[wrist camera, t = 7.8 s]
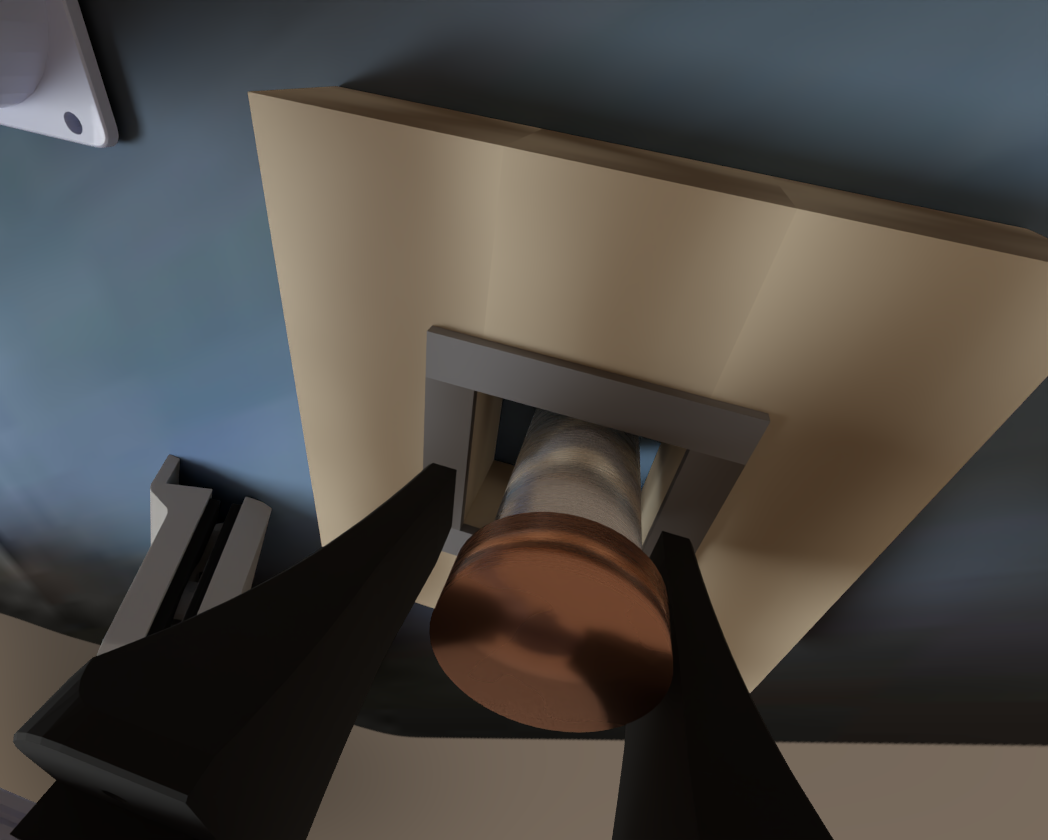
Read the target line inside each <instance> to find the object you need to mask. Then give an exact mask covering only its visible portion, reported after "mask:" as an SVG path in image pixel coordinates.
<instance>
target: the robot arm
mask: <svg viewBox="0 0 1048 840" xmlns="http://www.w3.org/2000/svg"><path fill="white" fill-rule="evenodd" d="M0 125H4V126H8V127H12V128H17V129H21V130H25V131H29V132H34V133H38V134H42V135H46V136H50V137H55V138H59V139H63V140H67V141H72V142H76V143H80V144H84V145H88V146H93V147H97V148H105V147H112V146H115V145H116V144H117V143H118V138H119V135H118V129H117V126H116V122H115V119H114V116H113V113H112V109H111V106H110V103H109V100H108V97H107V93H106V90H105V87H104V84H103V80H102V77H101V74H100V71H99V68H98V64H97V61H96V58H95V55H94V51H93V48H92V45H91V42H90V38H89V35H88V32H87V29H86V26H85V22H84V19H83V16H82V13H81V9H80V6H79V3H78V0H0ZM456 473H457V470H456V469H453V468H449V467H446V466H442V465H439V464H436V463H431V464H429V465H428V466H427V467H425V468H424V469H423V470H422V471H421V472H420V473H419V474H418V475H416V476H415V477H414V478H413V479H412V480H411V481H410V482H408V483H407V484H406V485H405V486H404V487H403V488H401V489H400V490H399V491H398V492H396V493H395V494H394V495H393V496H392V497H390V498H389V499H388V500H387V501H385V502H384V503H383V504H382V505H380V506H379V507H378V508H376V509H375V510H374V511H373V512H371V513H370V514H369V515H367V516H366V517H365V518H363V519H362V520H361V521H359V522H358V523H357V524H355V525H354V526H352V527H351V528H350V529H348V530H347V531H345V532H344V533H342V534H341V535H340V536H338V537H337V538H335V539H334V540H332V541H331V542H330V543H328V544H327V545H325V546H323V547H322V548H320V549H319V550H317V551H316V552H314V553H313V554H311V555H309V556H308V557H306V558H305V559H303V560H301V561H300V562H298V563H296V564H295V565H293V566H291V567H290V568H288V569H286V570H284V571H283V572H281V573H279V574H277V575H276V576H274V577H272V578H270V579H268V580H266V581H265V582H263V583H261V584H259V585H257V586H255V587H254V588H252V589H250V590H248V591H246V592H244V593H242V594H240V595H238V596H236V597H234V598H232V599H230V600H228V601H226V602H224V603H222V604H219V605H217V606H215V607H213V608H211V609H209V610H206V611H204V612H202V613H200V614H198V615H196V616H193V617H191V618H189V619H187V620H185V621H183V622H180V623H178V624H176V625H173V626H171V627H169V628H166V629H164V630H162V631H159V632H157V633H154V634H152V635H149V636H146V637H144V638H141V639H139V640H136V641H134V642H131V643H129V644H126V645H124V646H121V647H119V648H116V649H114V650H111V651H109V652H106V653H103V654H101V655H98V656H96V657H93V658H92V659H91V660H89V661H88V662H87V663H86V664H85V665H84V666H83V667H82V668H81V669H79V670H78V671H77V672H76V673H75V674H74V675H73V676H72V677H71V678H70V679H68V681H67V682H66V683H65V684H64V685H63V686H62V687H61V688H60V689H59V690H58V691H57V692H56V693H55V694H54V695H53V696H52V697H51V698H50V699H49V700H48V701H47V702H46V703H45V704H44V705H43V706H42V707H41V708H40V709H39V710H38V711H37V712H36V713H35V714H34V715H33V716H32V717H31V718H30V719H29V720H28V721H27V722H26V723H25V724H24V725H23V726H22V727H21V728H20V729H19V730H18V731H17V732H16V733H15V734H14V740H13V742H14V744H15V746H16V747H17V748H18V749H19V750H20V751H21V752H22V753H23V754H24V755H26V756H27V757H28V758H29V759H31V760H32V761H33V762H34V763H36V764H37V765H38V766H39V767H41V768H42V769H43V770H45V771H46V772H47V773H48V774H49V775H51V776H52V777H53V778H55V779H56V781H55V783H54V784H53V785H52V786H51V787H50V788H49V789H48V791H47V792H46V793H45V794H44V795H43V796H42V797H41V799H40V800H39V801H38V802H37V803H34V802H32V801H30V800H28V799H25V798H23V797H21V796H18V795H16V794H14V793H11V792H9V791H7V790H4V789H2V788H0V840H306V838H307V836H308V833H309V831H310V828H311V826H312V823H313V821H314V818H315V816H316V813H317V811H318V808H319V806H320V803H321V801H322V798H323V796H324V794H325V791H326V789H327V786H328V784H329V781H330V779H331V777H332V774H333V772H334V769H335V767H336V765H337V763H338V760H339V758H340V755H341V753H342V750H343V748H344V746H345V744H346V741H347V739H348V737H349V734H350V732H351V729H352V727H353V725H354V723H355V721H356V718H357V716H358V714H359V711H360V709H361V707H362V704H363V702H364V700H365V698H366V696H367V693H368V691H369V689H370V687H371V684H372V682H373V680H374V678H375V676H376V673H377V671H378V669H379V667H380V665H381V662H382V661H383V659H384V657H385V655H386V653H387V651H388V649H389V647H390V645H391V643H392V641H393V640H394V638H395V636H396V634H397V633H398V631H399V629H400V627H401V626H402V624H403V622H404V620H405V618H406V617H407V615H408V613H409V611H410V610H411V608H412V606H413V604H414V603H415V601H416V599H417V597H418V595H419V594H420V592H421V590H422V588H423V587H424V585H425V583H426V581H427V579H428V578H429V576H430V574H431V572H432V570H433V569H434V567H435V565H436V563H437V561H438V558H439V556H440V554H441V551H442V549H443V547H444V544H445V542H446V539H447V537H448V535H449V532H450V530H451V527H452V520H453V508H454V497H455V485H456ZM649 558H650V559H651V561H652V562H653V563H654V564H655V566H656V567H657V569H658V571H659V573H660V574H661V576H662V579H663V581H664V584H665V586H666V591H667V596H668V606H669V618H670V631H671V643H672V656H673V676H672V680H671V685H670V687H669V689H668V691H667V693H666V695H665V696H664V698H663V699H662V700H661V702H660V703H659V704H658V705H657V706H656V707H655V708H654V709H653V710H652V711H650V712H649V713H647V714H646V715H644V716H643V717H641V718H639V719H637V720H635V721H633V722H631V723H628V724H626V732H625V747H624V755H623V763H622V771H621V778H620V785H619V793H618V801H617V808H616V815H615V822H614V829H613V836H612V840H834V839H833V838H832V836H831V835H830V833H829V832H828V830H827V828H826V827H825V825H824V824H823V822H822V821H821V819H820V817H819V815H818V814H817V812H816V811H815V809H814V807H813V806H812V804H811V803H810V801H809V799H808V798H807V796H806V795H805V793H804V791H803V790H802V788H801V786H800V785H799V783H798V782H797V780H796V778H795V777H794V775H793V773H792V772H791V770H790V768H789V766H788V765H787V763H786V761H785V759H784V757H783V756H782V754H781V752H780V751H779V749H778V747H777V745H776V743H775V741H774V740H773V738H772V736H771V734H770V732H769V730H768V728H767V726H766V725H765V723H764V721H763V719H762V717H761V715H760V713H759V711H758V709H757V707H756V705H755V703H754V701H753V699H752V697H751V695H750V693H749V691H748V689H747V687H746V685H745V683H744V680H743V678H742V676H741V674H740V671H739V669H738V667H737V665H736V663H735V660H734V658H733V656H732V654H731V651H730V649H729V646H728V644H727V642H726V639H725V637H724V634H723V632H722V629H721V627H720V624H719V621H718V619H717V616H716V614H715V611H714V609H713V606H712V603H711V600H710V598H709V595H708V592H707V589H706V586H705V583H704V580H703V577H702V574H701V571H700V568H699V565H698V562H697V558H696V555H695V552H694V548H693V545H692V542H691V541H690V539H689V538H685V537H682V536H678V535H675V534H672V533H668V532H665V531H662V532H661V534H660V536H659V538H658V541H657V543H656V545H655V547H654V549H653V551H652V553H651V555H650V557H649Z"/></svg>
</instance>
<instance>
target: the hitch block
mask: <svg viewBox="0 0 1048 840" xmlns="http://www.w3.org/2000/svg"><path fill="white" fill-rule="evenodd" d="M248 97H249V103H250V109H251V115H252V122H253V128H254V134H255V140H256V146H257V152H258V158H259V164H260V170H261V177H262V183H263V189H264V195H265V201H266V207H267V213H268V219H269V225H270V232H271V238H272V244H273V250H274V256H275V262H276V268H277V274H278V280H279V287H280V293H281V299H282V305H283V311H284V317H285V323H286V329H287V335H288V342H289V348H290V354H291V360H292V366H293V372H294V378H295V384H296V390H297V397H298V403H299V409H300V415H301V421H302V427H303V433H304V439H305V445H306V452H307V458H308V464H309V470H310V476H311V482H312V488H313V494H314V500H315V507H316V513H317V519H318V525H319V531H320V537H321V543H322V547H323V546H325V545H327V544H328V543H330V542H331V541H332V540H334V539H335V538H337V537H338V536H340V535H341V534H342V533H344V532H345V531H347V530H348V529H350V528H351V527H352V526H354V525H355V524H357V523H358V522H359V521H361V520H362V519H363V518H365V517H366V516H367V515H369V514H370V513H371V512H373V511H374V510H375V509H376V508H378V507H379V506H380V505H382V504H383V503H384V502H385V501H387V500H388V499H389V498H390V497H392V496H393V495H394V494H395V493H396V492H398V491H399V490H400V489H401V488H403V487H404V486H405V485H406V484H407V483H408V482H410V481H411V480H412V479H413V478H414V477H415V476H416V475H418V474H419V473H420V472H421V471H422V470H423V469H424V468H425V467H427V466H428V465H429V464H431V463H436V464H439V465H442V466H446V467H449V468H453V469H456V470H457V473H456V485H455V497H454V508H453V520H452V527H451V530H450V532H449V535H448V537H447V539H446V542H445V544H444V547H443V549H442V551H441V554H440V556H439V558H438V561H437V563H436V565H435V567H434V569H433V570H432V572H431V574H430V576H429V578H428V579H427V581H426V583H425V585H424V587H423V588H422V590H421V592H420V594H419V595H418V597H417V599H416V601H415V602H416V603H419V604H422V605H425V606H428V607H431V608H435V606H436V604H437V601H438V599H439V597H440V594H441V592H442V590H443V587H444V585H445V583H446V581H447V578H448V576H449V574H450V571H451V569H452V567H453V564H454V562H455V560H456V557H457V555H458V553H459V551H460V549H461V548H462V546H463V545H464V544H465V542H466V541H467V540H468V539H469V538H470V537H471V536H472V535H473V534H474V533H475V532H477V531H478V530H479V529H481V528H482V527H484V526H485V525H487V524H489V523H491V522H493V521H494V520H495V517H496V515H497V512H498V509H499V507H500V504H501V501H502V499H503V496H504V493H505V490H506V488H507V485H508V482H509V480H510V477H511V474H512V472H513V469H514V465H510V464H507V463H503V462H500V461H496V460H494V456H495V449H496V442H497V436H498V429H499V422H500V415H501V408H502V401H503V398H504V399H507V400H511V401H515V402H518V403H522V404H526V405H529V406H533V407H537V408H540V409H544V410H547V411H551V412H555V413H558V414H562V415H566V416H569V417H573V418H576V419H580V420H584V421H587V422H591V423H595V424H598V425H602V426H605V427H609V428H613V429H616V430H620V431H624V432H627V433H631V434H635V435H638V436H642V437H645V438H649V439H653V440H656V441H660V442H661V445H660V447H659V449H658V452H657V454H656V457H655V459H654V461H653V464H652V466H651V469H650V471H649V474H648V476H647V478H646V481H645V483H644V486H643V488H642V490H641V522H642V551H643V552H644V553H645V554H646V555H647V556H648V557H650V555H651V553H652V551H653V549H654V547H655V545H656V543H657V541H658V538H659V536H660V534H661V532H662V531H665V532H668V533H672V534H675V535H678V536H682V537H685V538H689V539H690V541H691V542H692V545H693V548H694V552H695V555H696V558H697V562H698V565H699V568H700V571H701V574H702V577H703V580H704V583H705V586H706V589H707V592H708V595H709V598H710V600H711V603H712V606H713V609H714V611H715V614H716V616H717V619H718V621H719V624H720V627H721V629H722V632H723V634H724V637H725V639H726V642H727V644H728V646H729V649H730V651H731V654H732V656H733V658H734V660H735V663H736V665H737V667H738V669H739V671H740V674H741V676H742V678H743V680H744V683H745V685H746V687H747V689H748V691H749V693H751V692H752V691H753V689H754V688H755V687H756V686H757V685H758V684H759V683H760V682H761V681H762V680H763V679H764V678H765V677H766V676H767V675H768V673H769V672H770V671H771V670H772V669H773V668H774V667H775V666H776V665H777V664H778V663H779V662H780V661H781V660H782V659H783V657H784V656H785V655H786V654H787V653H788V652H789V651H790V650H791V649H792V648H793V647H794V646H795V645H796V644H797V643H798V642H799V640H800V639H801V638H802V637H803V636H804V635H805V634H806V633H807V632H808V631H809V630H810V629H811V628H812V627H813V626H814V624H815V623H816V622H817V621H818V620H819V619H820V618H821V617H822V616H823V615H824V614H825V613H826V612H827V611H828V610H829V608H830V607H831V606H832V605H833V604H834V603H835V602H836V601H837V600H838V599H839V598H840V597H841V596H842V595H843V594H844V592H845V591H846V590H847V589H848V588H849V587H850V586H851V585H852V584H853V583H854V582H855V581H856V580H857V579H858V578H859V577H860V575H861V574H862V573H863V572H864V571H865V570H866V569H867V568H868V567H869V566H870V565H871V564H872V563H873V562H874V561H875V559H876V558H877V557H878V556H879V555H880V554H881V553H882V552H883V551H884V550H885V549H886V548H887V547H888V546H889V545H890V543H891V542H892V541H893V540H894V539H895V538H896V537H897V536H898V535H899V534H900V533H901V532H902V531H903V530H904V529H905V527H906V526H907V525H908V524H909V523H910V522H911V521H912V520H913V519H914V518H915V517H916V516H917V515H918V514H919V513H920V512H921V510H922V509H923V508H924V507H925V506H926V505H927V504H928V503H929V502H930V501H931V500H932V499H933V498H934V497H935V496H936V494H937V493H938V492H939V491H940V490H941V489H942V488H943V487H944V486H945V485H946V484H947V483H948V482H949V481H950V480H951V478H952V477H953V476H954V475H955V474H956V473H957V472H958V471H959V470H960V469H961V468H962V467H963V466H964V465H965V464H966V462H967V461H968V460H969V459H970V458H971V457H972V456H973V455H974V454H975V453H976V452H977V451H978V450H979V449H980V448H981V446H982V445H983V444H984V443H985V442H986V441H987V440H988V439H989V438H990V437H991V436H992V435H993V434H994V433H995V432H996V431H997V429H998V428H999V427H1000V426H1001V425H1002V424H1003V423H1004V422H1005V421H1006V420H1007V419H1008V418H1009V417H1010V416H1011V415H1012V413H1013V412H1014V411H1015V410H1016V409H1017V408H1018V407H1019V406H1020V405H1021V404H1022V403H1023V402H1024V401H1025V400H1026V399H1027V397H1028V396H1029V395H1030V394H1031V393H1032V392H1033V391H1034V390H1035V389H1036V388H1037V387H1038V386H1039V385H1040V384H1041V383H1042V381H1043V380H1044V379H1045V378H1046V377H1047V376H1048V238H1046V237H1044V236H1042V235H1040V234H1037V233H1035V232H1033V231H1031V230H1029V229H1026V228H1021V227H1016V226H1011V225H1006V224H1001V223H996V222H992V221H987V220H982V219H977V218H972V217H967V216H963V215H958V214H953V213H948V212H943V211H938V210H934V209H929V208H924V207H919V206H914V205H909V204H904V203H900V202H895V201H890V200H885V199H880V198H875V197H871V196H866V195H861V194H856V193H851V192H846V191H842V190H837V189H832V188H827V187H822V186H817V185H813V184H808V183H803V182H798V181H793V180H788V179H783V178H779V177H774V176H769V175H764V174H759V173H754V172H750V171H745V170H740V169H735V168H730V167H725V166H721V165H716V164H711V163H706V162H701V161H696V160H691V159H687V158H682V157H677V156H672V155H667V154H662V153H658V152H653V151H648V150H643V149H638V148H633V147H629V146H624V145H619V144H614V143H609V142H604V141H600V140H595V139H590V138H585V137H580V136H575V135H570V134H566V133H561V132H556V131H551V130H546V129H541V128H537V127H532V126H527V125H522V124H517V123H512V122H508V121H503V120H498V119H493V118H488V117H483V116H478V115H474V114H469V113H464V112H459V111H454V110H449V109H445V108H440V107H435V106H430V105H425V104H420V103H416V102H411V101H406V100H401V99H396V98H391V97H387V96H382V95H377V94H372V93H367V92H362V91H357V90H353V89H348V88H343V87H338V86H331V87H315V88H299V89H283V90H267V91H250V92H248Z"/></svg>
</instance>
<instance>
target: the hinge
mask: <svg viewBox="0 0 1048 840" xmlns="http://www.w3.org/2000/svg"><path fill="white" fill-rule="evenodd" d="M179 469H180V459H179V458H177V457H175V456H172V455H168V457H167V459H166V460H165V462H164V464H163V465H162V467H161V469H160V470H159V472H158V473H157V475H156V477H155V478H154V480H153V482H152V483H151V487H150V498H151V547H150V549H149V551H148V553H147V555H146V557H145V559H144V561H143V563H142V565H141V567H140V569H139V571H138V573H137V575H136V577H135V578H134V580H133V582H132V584H131V586H130V588H129V590H128V592H127V594H126V596H125V598H124V600H123V602H122V604H121V606H120V608H119V610H118V612H117V614H116V616H115V618H114V620H113V622H112V624H111V626H110V628H109V630H108V632H107V634H106V636H105V638H104V640H103V642H102V644H101V647H100V649H99V651H98V654H97V656H98V655H101V654H103V653H106V652H109V651H111V650H114V649H116V648H119V647H121V646H124V645H126V644H129V643H131V642H134V641H136V640H139V639H141V638H144V637H146V636H149V635H152V634H154V633H157V632H159V631H162V630H164V629H166V628H169V627H171V626H173V625H176V624H178V623H180V622H183V621H185V620H187V619H189V618H191V617H193V616H196V615H198V614H200V613H202V612H204V611H206V610H209V609H211V608H213V607H215V606H217V605H219V604H222V603H224V602H226V601H228V600H230V599H232V598H234V597H236V596H238V595H240V594H242V593H244V592H246V591H248V590H250V589H251V586H252V582H253V578H254V574H255V571H256V567H257V563H258V559H259V556H260V552H261V548H262V544H263V541H264V537H265V533H266V529H267V526H268V522H269V518H270V514H271V510H272V508H270V507H269V506H267V505H266V504H265V503H263V502H261V501H258V500H255V499H252V498H249V497H245V499H244V501H243V504H242V505H239V504H235V503H232V504H231V507H230V509H229V512H228V514H227V516H226V519H225V521H224V523H219V524H216V523H217V520H218V514H219V507H220V500H216V499H211V498H212V490H213V489H207V488H199V487H191V486H183V485H179ZM199 572H203V573H202V575H201V577H200V580H199Z"/></svg>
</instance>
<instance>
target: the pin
mask: <svg viewBox="0 0 1048 840" xmlns="http://www.w3.org/2000/svg"><path fill="white" fill-rule="evenodd" d="M430 640H431V645H432V648H433V651H434V654H435V656H436V658H437V660H438V662H439V664H440V666H441V667H442V669H443V670H444V671H445V673H446V674H447V675H448V677H449V678H450V679H451V680H452V681H453V682H454V683H455V684H456V685H457V686H458V687H459V688H460V689H461V690H462V691H463V692H465V693H466V694H467V695H468V696H470V697H471V698H472V699H474V700H475V701H477V702H478V703H480V704H481V705H483V706H484V707H486V708H488V709H490V710H492V711H494V712H496V713H498V714H500V715H502V716H505V717H507V718H509V719H512V720H515V721H517V722H520V723H523V724H527V725H530V726H534V727H538V728H543V729H549V730H555V731H564V732H594V731H601V730H608V729H612V728H616V727H620V726H623V725H626V724H628V723H631V722H633V721H635V720H637V719H639V718H641V717H643V716H644V715H646V714H647V713H649V712H650V711H652V710H653V709H654V708H655V707H656V706H657V705H658V704H659V703H660V702H661V700H662V699H663V698H664V696H665V695H666V693H667V691H668V689H669V687H670V685H671V680H672V676H673V656H672V643H671V631H670V618H669V606H668V596H667V591H666V586H665V584H664V581H663V579H662V576H661V574H660V573H659V571H658V569H657V567H656V566H655V564H654V563H653V562H652V561H651V559H650V558H649V557H648V556H647V555H646V554H645V553H644V552H643V551H642V522H641V482H640V442H639V436H638V435H635V434H631V433H627V432H624V431H620V430H616V429H613V428H609V427H605V426H602V425H598V424H595V423H591V422H587V421H584V420H580V419H576V418H573V417H569V416H566V415H562V414H558V413H555V412H551V411H547V410H544V409H540V408H537V407H536V410H535V413H534V415H533V418H532V421H531V423H530V426H529V429H528V431H527V434H526V437H525V439H524V442H523V445H522V447H521V450H520V453H519V456H518V458H517V461H516V464H515V466H514V469H513V472H512V474H511V477H510V480H509V482H508V485H507V488H506V490H505V493H504V496H503V499H502V501H501V504H500V507H499V509H498V512H497V515H496V517H495V520H494V521H493V522H491V523H489V524H487V525H485V526H484V527H482V528H481V529H479V530H478V531H477V532H475V533H474V534H473V535H472V536H471V537H470V538H469V539H468V540H467V541H466V542H465V544H464V545H463V546H462V548H461V549H460V551H459V553H458V555H457V557H456V560H455V562H454V564H453V567H452V569H451V571H450V574H449V576H448V578H447V581H446V583H445V585H444V587H443V590H442V592H441V594H440V597H439V599H438V601H437V604H436V606H435V608H434V611H433V613H432V617H431V621H430Z"/></svg>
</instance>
